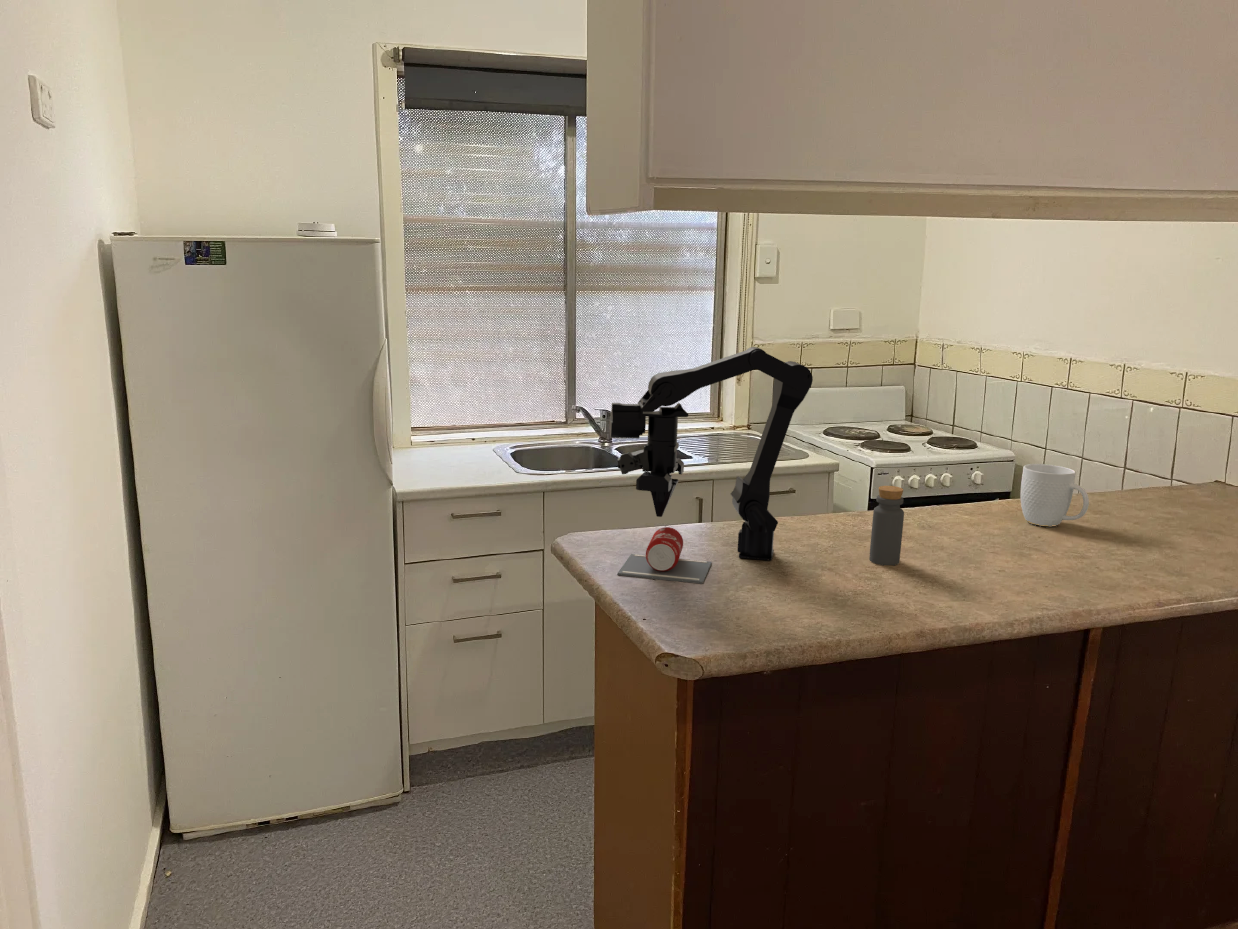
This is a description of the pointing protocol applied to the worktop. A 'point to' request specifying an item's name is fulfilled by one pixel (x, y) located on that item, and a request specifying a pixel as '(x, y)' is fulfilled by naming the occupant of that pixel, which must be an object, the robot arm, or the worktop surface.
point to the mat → (681, 572)
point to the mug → (1049, 494)
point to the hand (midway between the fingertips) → (659, 516)
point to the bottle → (887, 527)
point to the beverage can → (664, 549)
